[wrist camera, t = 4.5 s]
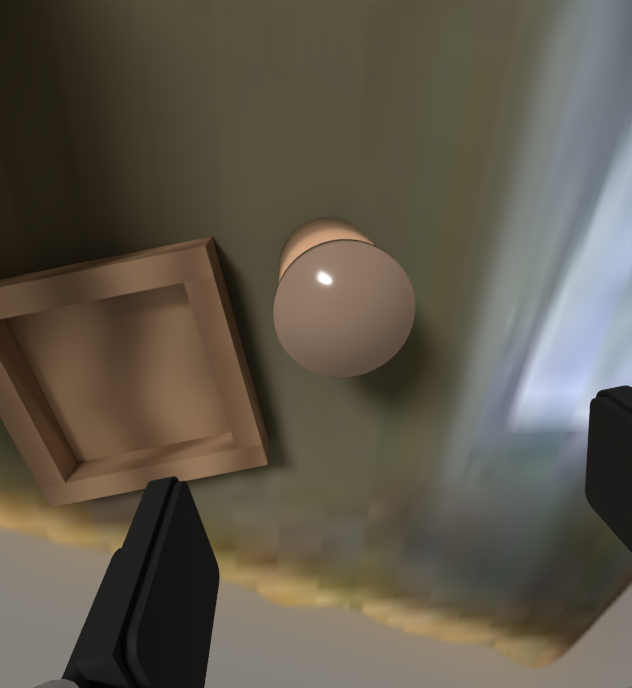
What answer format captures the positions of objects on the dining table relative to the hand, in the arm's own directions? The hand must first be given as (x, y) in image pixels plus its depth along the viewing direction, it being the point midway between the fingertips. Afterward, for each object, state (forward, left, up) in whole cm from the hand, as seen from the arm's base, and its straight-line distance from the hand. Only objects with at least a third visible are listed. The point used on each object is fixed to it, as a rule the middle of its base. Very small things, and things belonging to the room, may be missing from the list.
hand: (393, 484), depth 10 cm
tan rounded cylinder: (0, -1, -18) cm, 18 cm away
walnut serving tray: (+13, +3, -18) cm, 22 cm away
